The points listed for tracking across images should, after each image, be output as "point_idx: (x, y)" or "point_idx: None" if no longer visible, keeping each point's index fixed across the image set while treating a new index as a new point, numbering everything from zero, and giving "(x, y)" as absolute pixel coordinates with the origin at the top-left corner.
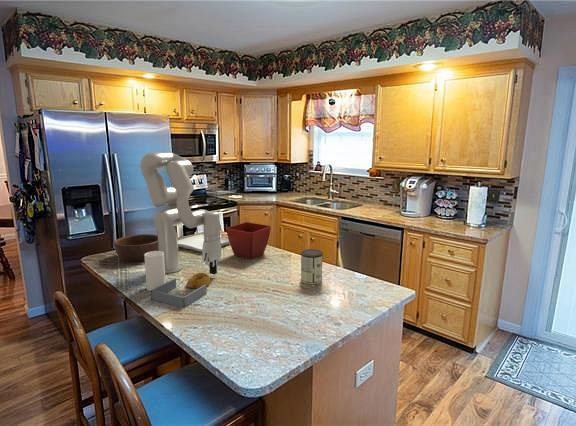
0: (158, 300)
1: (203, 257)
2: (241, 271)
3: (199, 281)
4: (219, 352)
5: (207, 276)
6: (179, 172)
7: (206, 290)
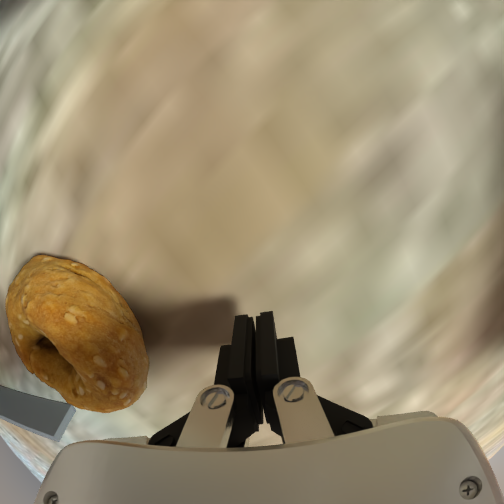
0: None
1: (52, 501)
2: (441, 374)
3: (48, 385)
4: (40, 474)
5: (111, 407)
6: None
7: (69, 421)
